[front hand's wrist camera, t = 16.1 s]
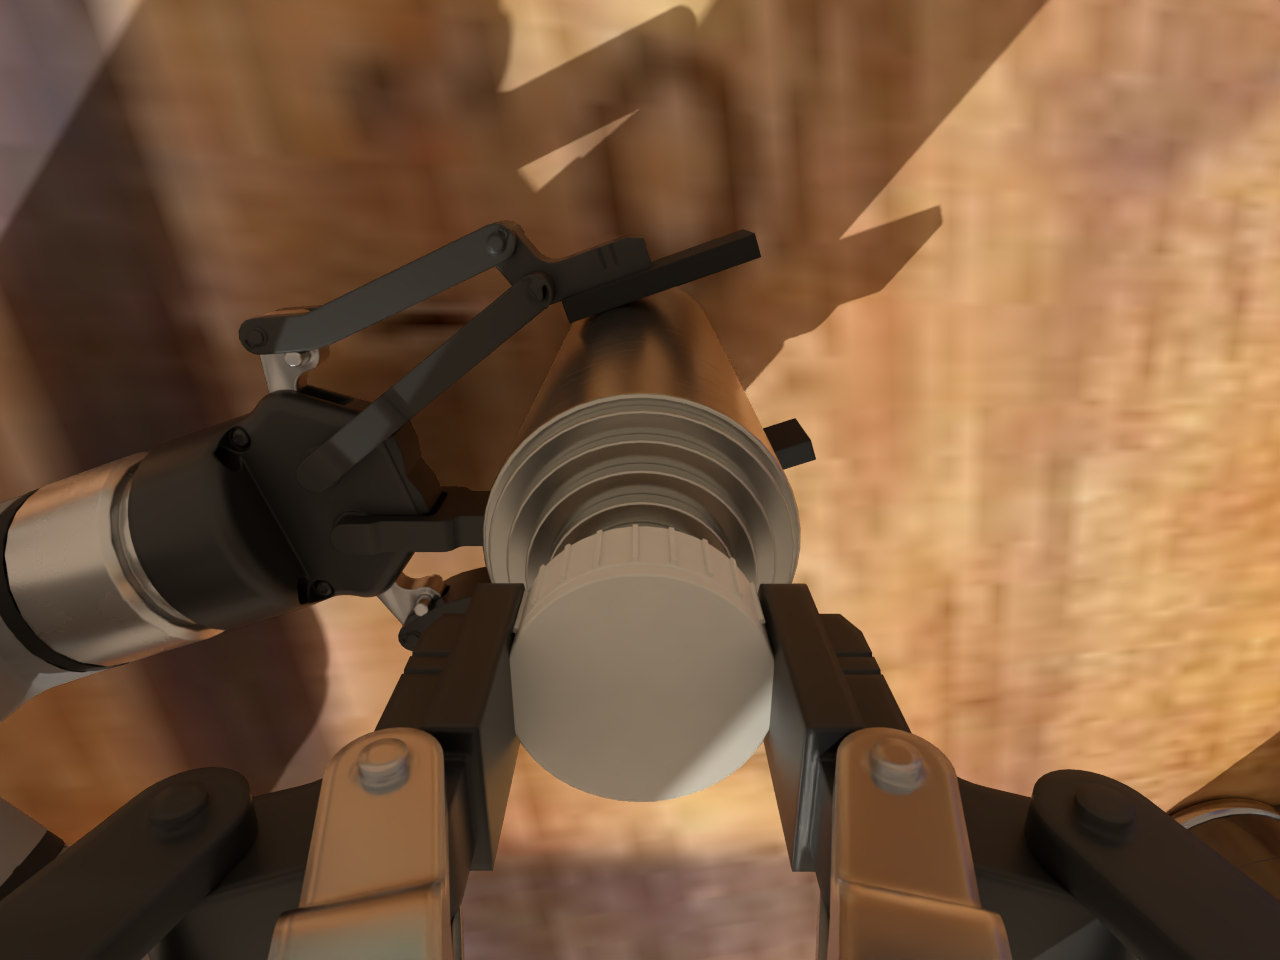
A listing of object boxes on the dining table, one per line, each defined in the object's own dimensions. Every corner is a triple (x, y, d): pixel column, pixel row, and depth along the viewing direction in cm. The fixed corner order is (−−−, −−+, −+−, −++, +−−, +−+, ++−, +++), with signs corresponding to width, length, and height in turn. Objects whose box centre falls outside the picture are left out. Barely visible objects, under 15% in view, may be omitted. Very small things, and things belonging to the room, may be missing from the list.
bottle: (564, 277, 31) (401, 474, 10) (719, 278, 31) (882, 476, 10) (569, 425, 34) (445, 838, 12) (713, 426, 34) (835, 840, 12)
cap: (479, 686, 13) (458, 751, 11) (575, 480, 11) (565, 525, 10) (696, 767, 13) (703, 838, 12) (812, 581, 12) (835, 637, 10)
